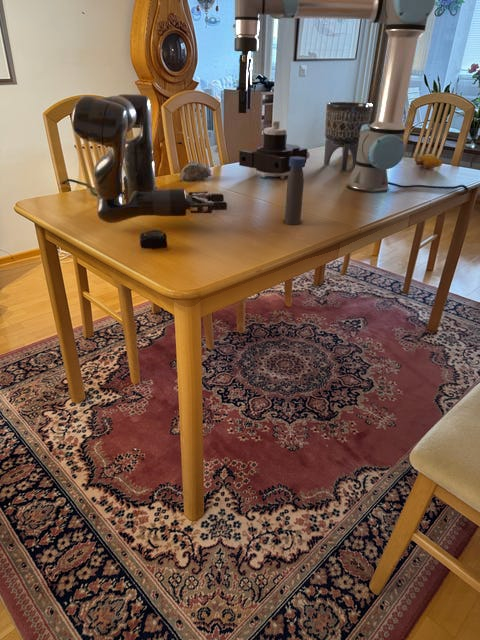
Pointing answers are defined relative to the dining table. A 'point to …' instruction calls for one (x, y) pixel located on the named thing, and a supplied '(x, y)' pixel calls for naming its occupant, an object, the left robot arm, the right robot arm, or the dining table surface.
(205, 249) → the dining table surface
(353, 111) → the planter
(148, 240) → the tape measure
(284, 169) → the mechanical component
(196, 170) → the rock
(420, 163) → the toy
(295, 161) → the cap
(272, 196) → the dining table surface
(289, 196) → the bottle
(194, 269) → the dining table surface
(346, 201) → the dining table surface
